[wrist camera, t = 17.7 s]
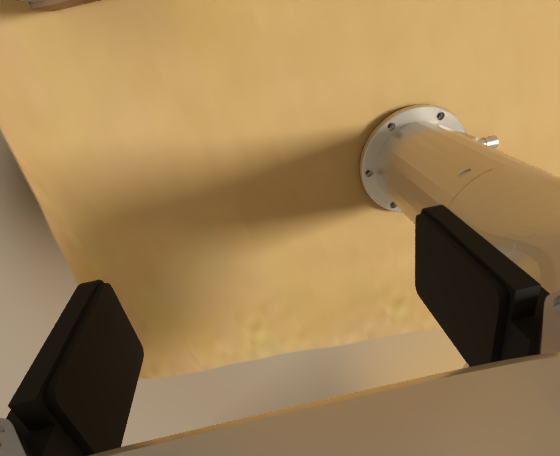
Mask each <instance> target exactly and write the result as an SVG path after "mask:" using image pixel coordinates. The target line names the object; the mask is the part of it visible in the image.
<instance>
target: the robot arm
mask: <svg viewBox="0 0 560 456" xmlns="http://www.w3.org/2000/svg"><path fill="white" fill-rule="evenodd" d="M438 113H439V114H438ZM437 115H438V116H437ZM389 123H390V126H389V127H387V126H388V124H389ZM497 146H498V138H497V137H496V136H495V135H494V136H488V137H484V138H482V139H478V138H476V137H473V136H471V135H469V134H467V133H466V130H465V128H464V126H463V124H462V123H461V121H460V120H459V119H458V118H457V117H456V116H455V115H454V114H452V113H451V112H449V111H448V110H446V109H443V108H441V107H438V106H434V105H429V104H418V105H413V106H408V107H405V108H403V109H400V110H398V111H396V112H394V113H393V114H391V115H390V116H388V117H387V118H385V119H384V120H383V121H382V122H381V123H380V124H379V125H378V126H377V127H376V128H375V130H374V131H373V132H372V133H371V135H370V136H369V138H368V140H367V142H366V143H365V146H364V149H363V151H362V154H361V160H360V177H361V181H362V184H363V186H364V189H365V191H366V192H367V193H368V195H369V196H370V197H371V198H372V199H373V200H374V201H375V202H376V203H377V204H378V205H380V206H381V207H383V208H385V209H387V210H390V211H395V212H404V213H405V215H406V216H407V217H408V218H409V219H410V220H411V221H412V222H413V223H414V224H415V286H416V290H417V293H418V295H419V297H420V298H421V299H422V301H423V302H424V304H425V305H426V306H427V308H428V309H429V311H430V312H431V313H432V315H433V316H434V318H435V319H436V320H437V322H438V323H439V325H440V326H441V327H442V329H443V330H444V332H445V333H446V334H447V336H448V337H449V338H450V340H451V341H452V343H453V344H454V346H455V347H456V348H457V350H458V351H459V352H460V354H461V355H462V357H463V358H464V359H465V361H466V362H467V363H466V364H465V365H464V367H463V368H462V369H458V370H454V371H449V372H444V373H439V374H435V375H430V376H426V377H421V378H417V379H413V380H409V381H404V382H399V383H395V384H390V385H386V386H381V387H378V388H373V389H368V390H364V391H360V392H355V393H350V394H346V395H342V396H337V397H333V398H329V399H324V400H321V401H316V402H311V403H307V404H303V405H298V406H294V407H290V408H285V409H281V410H277V411H273V412H268V413H264V414H260V415H255V416H251V417H247V418H242V419H238V420H233V421H229V422H225V423H221V424H217V425H212V426H208V427H204V428H200V429H195V430H191V431H187V432H183V433H178V434H175V435H170V436H166V437H162V438H157V439H153V440H149V441H145V442H141V443H136V444H132V445H128V446H124V447H121V444H122V440H123V436H124V432H125V428H126V424H127V420H128V416H129V413H130V408H131V404H132V401H133V397H134V393H135V389H136V385H137V381H138V377H139V374H140V370H141V366H142V362H143V357H144V352H143V347H142V345H141V343H140V341H139V339H138V337H137V335H136V333H135V331H134V329H133V327H132V325H131V323H130V321H129V319H128V317H127V315H126V314H125V312H124V310H123V308H122V306H121V304H120V302H119V300H118V298H117V296H116V294H115V292H114V290H113V288H112V287H111V285H110V284H109V283H104V282H103V281H102V280H96V281H92V282H87V283H82V284H79V285H78V286H77V288H76V290H75V292H74V293H73V295H72V297H71V299H70V300H69V302H68V304H67V305H66V307H65V309H64V310H63V312H62V314H61V316H60V317H59V319H58V321H57V322H56V324H55V326H54V328H53V329H52V331H51V333H50V334H49V336H48V338H47V340H46V341H45V343H44V345H43V346H42V348H41V350H40V352H39V353H38V355H37V357H36V358H35V360H34V362H33V364H32V365H31V367H30V369H29V371H28V372H27V374H26V376H25V377H24V379H23V381H22V383H21V384H20V386H19V388H18V389H17V391H16V393H15V395H14V396H13V398H12V400H11V401H10V403H9V405H8V406H9V408H10V409H11V411H10V412H9V414H8V416H7V418H6V419H4V418H0V456H560V177H557V176H555V175H553V174H551V173H548V172H546V171H544V170H542V169H539V168H537V167H535V166H532V165H529V164H527V163H525V162H523V161H521V160H518V159H516V158H514V157H512V156H509V155H507V154H505V153H503V152H500V151H498V150H496V149H494V148H496V147H497ZM367 170H368V172H366V171H367Z"/></svg>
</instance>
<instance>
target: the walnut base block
mask: <svg viewBox="0 0 560 456" xmlns="http://www.w3.org/2000/svg"><path fill="white" fill-rule="evenodd" d="M95 1H100V0H46V1H42V2H38V3H34V2H29V4H30V6H31V8H32V9H36V10H46V11H56V10H60V9H65V8H69V7H73V6H78V5H82V4H87V3H91V2H95Z"/></svg>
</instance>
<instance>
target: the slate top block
mask: <svg viewBox="0 0 560 456" xmlns="http://www.w3.org/2000/svg"><path fill="white" fill-rule="evenodd" d="M18 1H26V2H34V3H38V2H42V1H46V0H18Z"/></svg>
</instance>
